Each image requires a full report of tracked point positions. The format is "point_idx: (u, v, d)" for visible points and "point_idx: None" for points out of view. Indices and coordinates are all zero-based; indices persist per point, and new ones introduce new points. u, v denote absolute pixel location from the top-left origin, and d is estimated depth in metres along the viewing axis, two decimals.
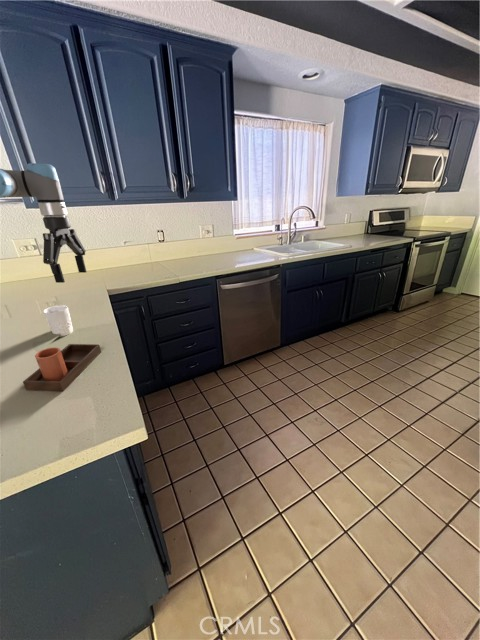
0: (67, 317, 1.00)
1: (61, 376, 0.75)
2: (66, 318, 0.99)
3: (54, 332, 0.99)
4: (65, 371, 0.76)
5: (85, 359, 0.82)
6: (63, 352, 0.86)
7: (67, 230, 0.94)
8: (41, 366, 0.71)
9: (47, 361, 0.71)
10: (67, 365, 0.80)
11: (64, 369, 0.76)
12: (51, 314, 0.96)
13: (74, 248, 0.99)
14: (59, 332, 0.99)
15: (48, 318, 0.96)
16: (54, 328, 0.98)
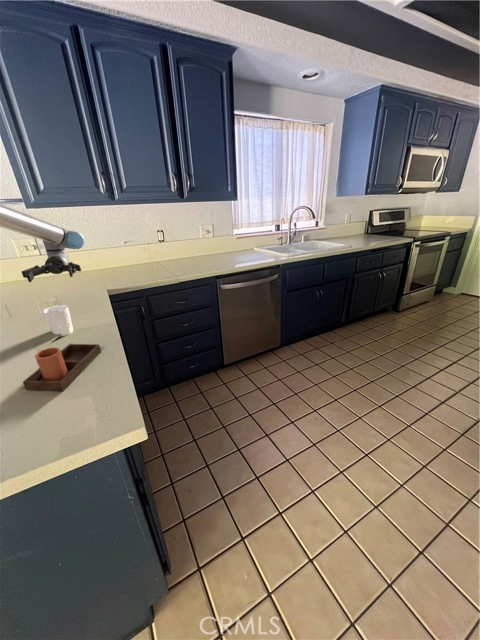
0: (67, 317, 1.00)
1: (61, 376, 0.75)
2: (66, 318, 0.99)
3: (54, 332, 0.99)
4: (65, 371, 0.76)
5: (85, 359, 0.82)
6: (63, 352, 0.86)
7: None
8: (41, 366, 0.71)
9: (47, 361, 0.71)
10: (67, 365, 0.80)
11: (64, 369, 0.76)
12: (51, 314, 0.96)
13: (39, 272, 1.08)
14: (59, 332, 0.99)
15: (48, 318, 0.96)
16: (54, 328, 0.98)
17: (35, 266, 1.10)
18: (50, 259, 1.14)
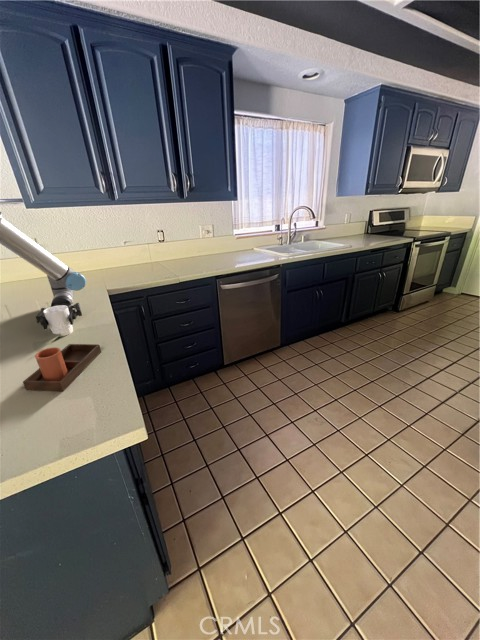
0: (67, 317, 1.00)
1: (61, 376, 0.75)
2: (66, 318, 0.99)
3: (54, 332, 0.99)
4: (65, 371, 0.76)
5: (85, 359, 0.82)
6: (63, 352, 0.86)
7: None
8: (41, 366, 0.71)
9: (47, 361, 0.71)
10: (67, 365, 0.80)
11: (64, 369, 0.76)
12: (51, 314, 0.96)
13: None
14: (59, 332, 0.99)
15: (48, 318, 0.96)
16: (54, 328, 0.98)
17: (42, 309, 1.06)
18: (56, 300, 1.10)
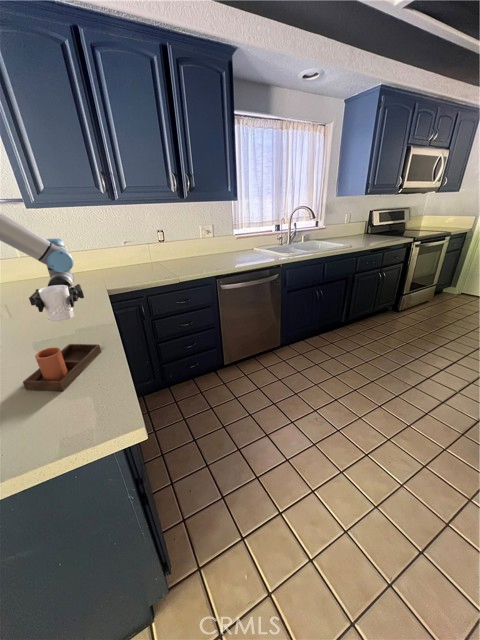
0: (67, 298, 0.84)
1: (61, 376, 0.75)
2: (66, 299, 0.84)
3: (51, 316, 0.84)
4: (65, 371, 0.76)
5: (85, 359, 0.82)
6: (63, 352, 0.86)
7: None
8: (41, 366, 0.71)
9: (47, 361, 0.71)
10: (67, 365, 0.80)
11: (64, 369, 0.76)
12: (48, 294, 0.80)
13: None
14: (57, 316, 0.84)
15: (44, 299, 0.81)
16: (51, 311, 0.83)
17: (37, 290, 0.90)
18: (54, 280, 0.94)
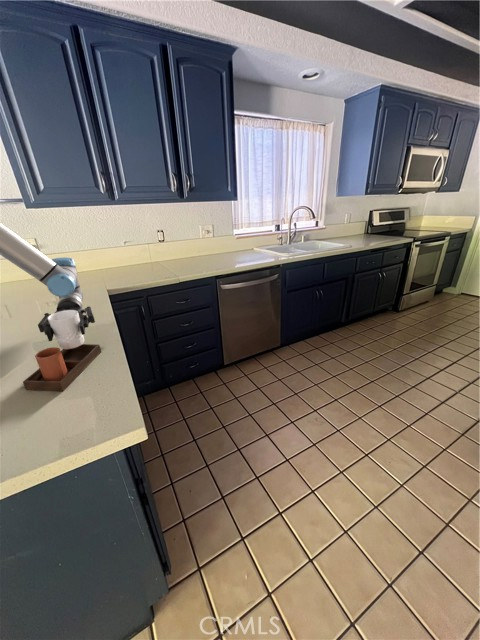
0: (77, 325, 0.80)
1: (61, 376, 0.75)
2: (76, 326, 0.79)
3: (61, 344, 0.79)
4: (65, 371, 0.76)
5: (85, 359, 0.82)
6: (63, 352, 0.86)
7: None
8: (41, 366, 0.71)
9: (47, 361, 0.71)
10: (67, 365, 0.80)
11: (64, 369, 0.76)
12: (58, 322, 0.76)
13: None
14: (68, 344, 0.79)
15: (54, 327, 0.76)
16: (61, 339, 0.78)
17: (46, 315, 0.86)
18: (63, 303, 0.90)
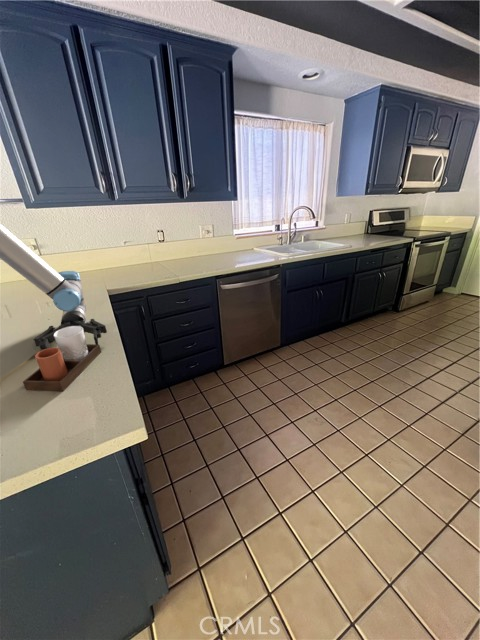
0: (82, 341, 0.82)
1: (61, 376, 0.75)
2: (81, 342, 0.82)
3: (67, 359, 0.82)
4: (65, 371, 0.76)
5: (85, 359, 0.82)
6: None
7: None
8: (41, 366, 0.71)
9: (47, 361, 0.71)
10: (67, 365, 0.80)
11: (64, 369, 0.76)
12: (63, 339, 0.78)
13: None
14: (73, 359, 0.82)
15: (60, 343, 0.79)
16: (67, 355, 0.81)
17: (49, 327, 0.89)
18: (67, 317, 0.92)
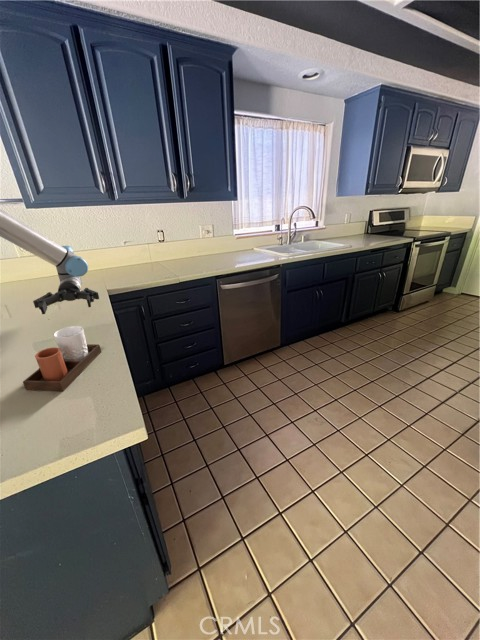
0: (82, 341, 0.82)
1: (61, 376, 0.75)
2: (81, 342, 0.82)
3: (67, 359, 0.82)
4: (65, 371, 0.76)
5: (85, 359, 0.82)
6: None
7: None
8: (41, 366, 0.71)
9: (47, 361, 0.71)
10: (67, 365, 0.80)
11: (64, 369, 0.76)
12: (64, 339, 0.78)
13: (52, 301, 0.96)
14: (73, 359, 0.82)
15: (60, 343, 0.79)
16: (67, 355, 0.81)
17: (47, 293, 0.98)
18: (64, 285, 1.02)
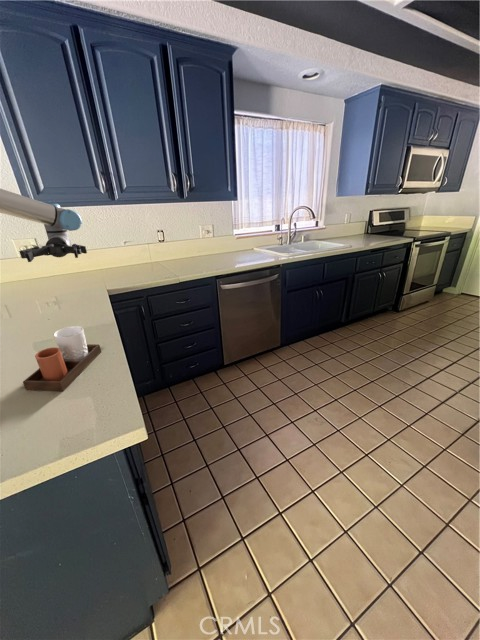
0: (82, 341, 0.82)
1: (61, 376, 0.75)
2: (81, 342, 0.82)
3: (67, 359, 0.82)
4: (65, 371, 0.76)
5: (85, 359, 0.82)
6: None
7: None
8: (41, 366, 0.71)
9: (47, 361, 0.71)
10: (67, 365, 0.80)
11: (64, 369, 0.76)
12: (64, 339, 0.78)
13: (39, 253, 0.95)
14: (73, 359, 0.82)
15: (60, 343, 0.79)
16: (67, 355, 0.81)
17: (35, 247, 0.98)
18: (52, 240, 1.02)
